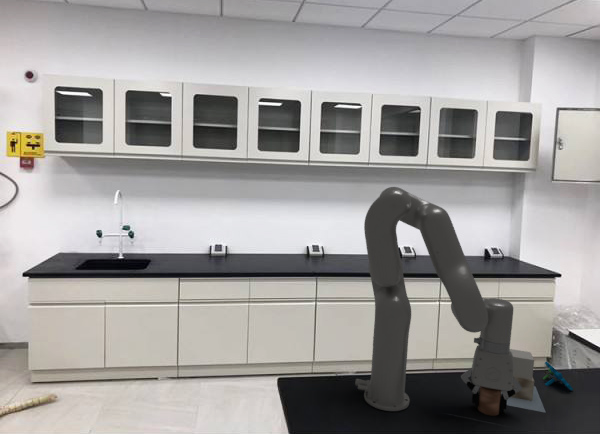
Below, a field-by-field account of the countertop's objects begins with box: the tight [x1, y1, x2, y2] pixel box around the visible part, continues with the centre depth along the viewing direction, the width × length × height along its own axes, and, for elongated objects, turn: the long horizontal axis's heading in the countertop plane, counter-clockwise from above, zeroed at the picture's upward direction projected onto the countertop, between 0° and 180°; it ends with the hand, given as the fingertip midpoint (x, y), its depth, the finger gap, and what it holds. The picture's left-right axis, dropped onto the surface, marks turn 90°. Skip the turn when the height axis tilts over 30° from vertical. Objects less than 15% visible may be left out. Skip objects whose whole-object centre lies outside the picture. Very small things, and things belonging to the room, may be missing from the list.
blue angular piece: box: [542, 361, 574, 392], centre depth 138 cm, size 11×6×10 cm
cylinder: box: [477, 387, 502, 417], centre depth 121 cm, size 6×6×7 cm
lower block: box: [511, 377, 535, 401], centre depth 132 cm, size 7×7×6 cm
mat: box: [501, 385, 547, 413], centre depth 132 cm, size 14×16×1 cm
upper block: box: [509, 348, 535, 380], centre depth 131 cm, size 6×6×6 cm
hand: (488, 407), depth 122 cm, fingers open, 5 cm apart
